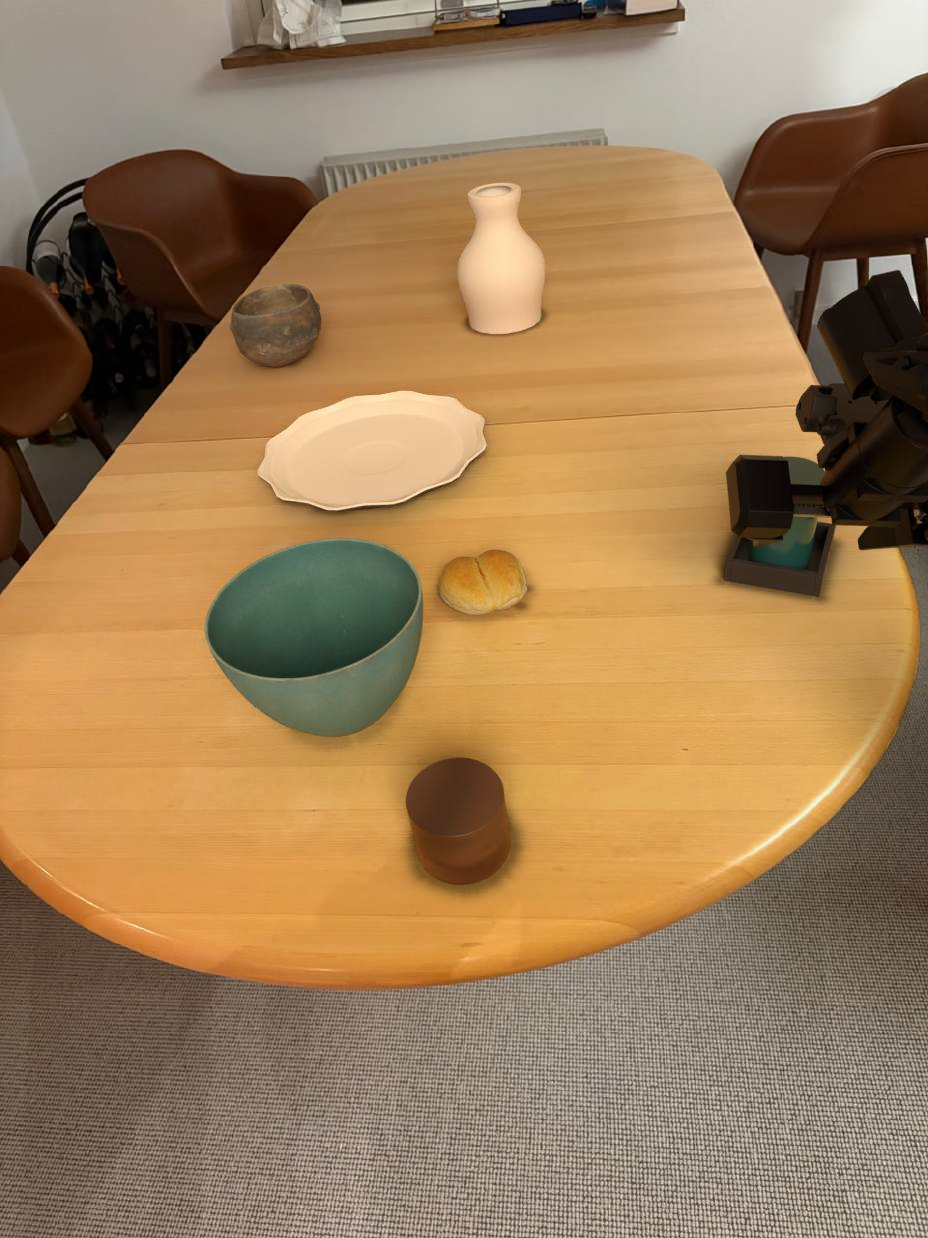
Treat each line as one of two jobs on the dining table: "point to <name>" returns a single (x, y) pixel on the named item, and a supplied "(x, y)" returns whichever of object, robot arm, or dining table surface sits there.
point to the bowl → (276, 324)
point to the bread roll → (483, 582)
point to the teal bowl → (320, 633)
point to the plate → (373, 451)
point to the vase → (500, 264)
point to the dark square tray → (781, 576)
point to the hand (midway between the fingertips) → (807, 543)
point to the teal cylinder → (793, 525)
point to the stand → (459, 820)
